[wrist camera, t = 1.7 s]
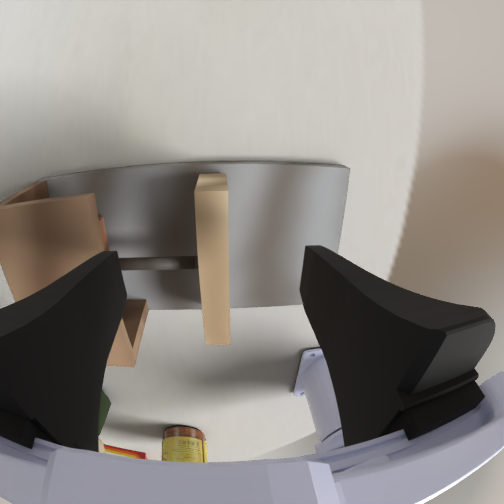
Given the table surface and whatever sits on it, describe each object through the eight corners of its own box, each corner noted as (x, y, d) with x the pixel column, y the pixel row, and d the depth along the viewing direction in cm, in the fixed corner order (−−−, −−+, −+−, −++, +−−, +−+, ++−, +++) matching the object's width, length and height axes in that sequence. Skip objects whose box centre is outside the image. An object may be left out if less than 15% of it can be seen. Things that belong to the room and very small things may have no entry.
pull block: (226, 172, 17) (228, 190, 13) (227, 305, 21) (230, 344, 18) (50, 187, 15) (18, 207, 12) (81, 305, 20) (63, 339, 16)
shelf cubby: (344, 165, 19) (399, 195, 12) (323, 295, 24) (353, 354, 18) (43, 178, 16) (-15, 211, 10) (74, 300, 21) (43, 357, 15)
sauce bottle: (154, 428, 32) (149, 554, 15) (190, 420, 32) (194, 559, 14) (181, 444, 35) (183, 556, 18) (215, 437, 35) (226, 558, 17)
